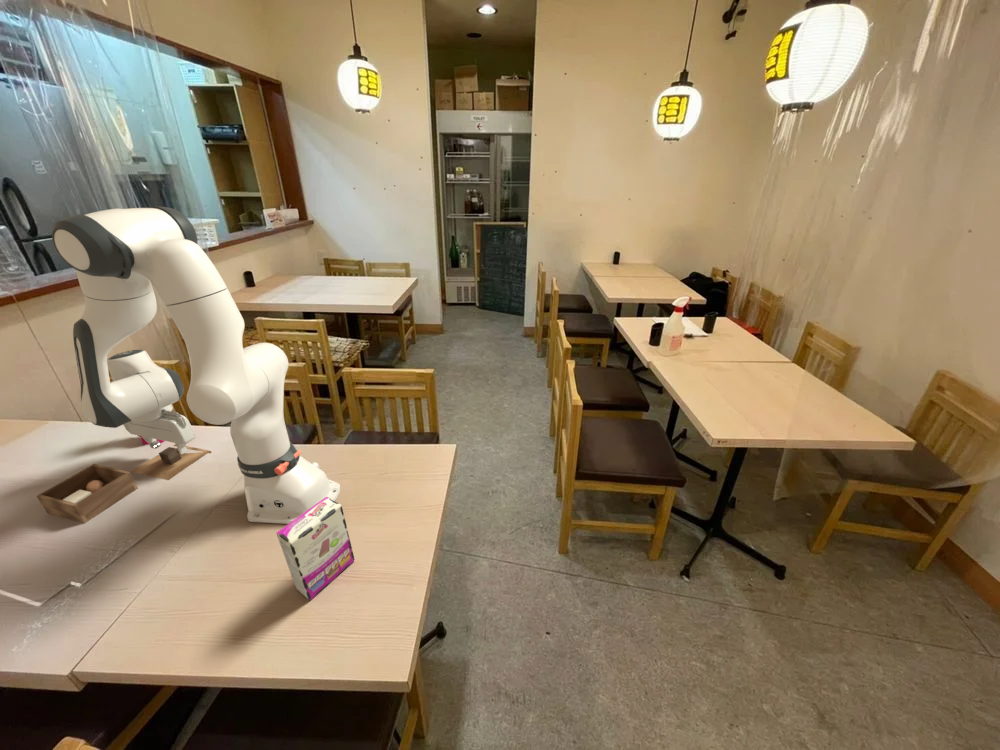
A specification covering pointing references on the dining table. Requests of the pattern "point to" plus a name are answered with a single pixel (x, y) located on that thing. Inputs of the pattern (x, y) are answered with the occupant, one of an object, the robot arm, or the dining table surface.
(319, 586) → the candy bar box
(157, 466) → the lid
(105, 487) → the walnut box
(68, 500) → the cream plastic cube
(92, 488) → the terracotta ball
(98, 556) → the dining table surface
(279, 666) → the dining table surface
